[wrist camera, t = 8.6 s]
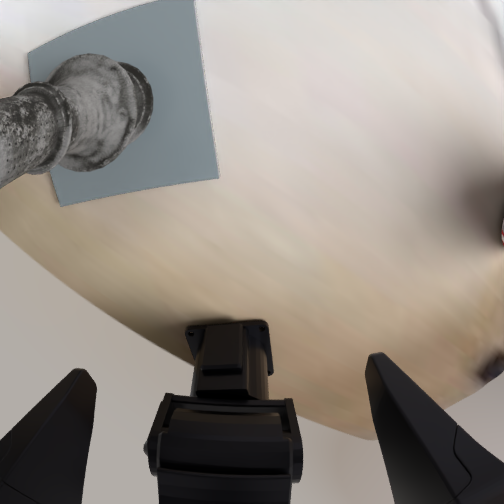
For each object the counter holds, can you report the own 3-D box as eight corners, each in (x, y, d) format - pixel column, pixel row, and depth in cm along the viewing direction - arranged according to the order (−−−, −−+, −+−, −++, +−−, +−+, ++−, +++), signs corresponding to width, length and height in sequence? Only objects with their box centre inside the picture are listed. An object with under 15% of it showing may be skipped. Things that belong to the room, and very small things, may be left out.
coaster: (220, 175, 18) (219, 178, 17) (64, 203, 18) (60, 207, 18) (194, -5, 12) (192, -8, 12) (32, 53, 13) (27, 53, 12)
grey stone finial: (173, 131, 16) (51, 232, 5) (89, 169, 17) (-49, 286, 6) (139, 39, 13) (-25, 6, 3) (56, 86, 14) (-110, 135, 3)
